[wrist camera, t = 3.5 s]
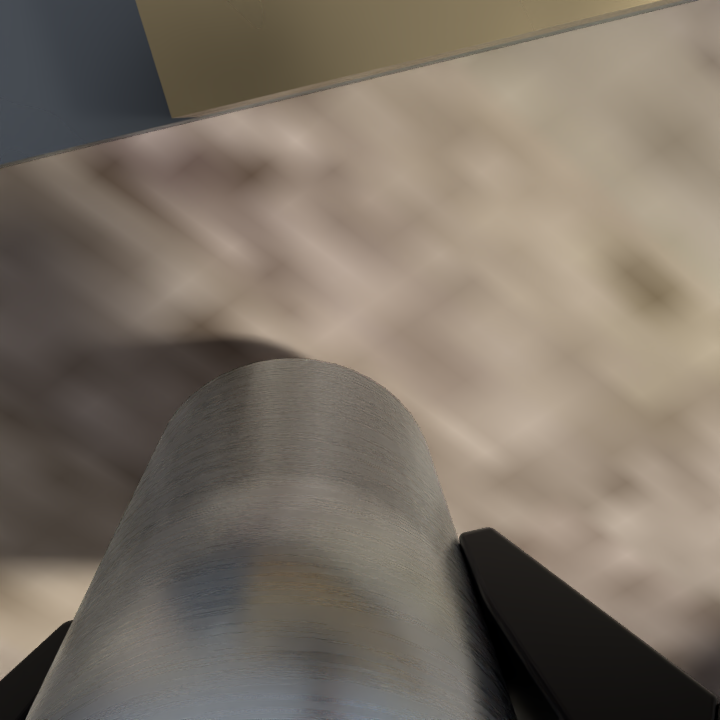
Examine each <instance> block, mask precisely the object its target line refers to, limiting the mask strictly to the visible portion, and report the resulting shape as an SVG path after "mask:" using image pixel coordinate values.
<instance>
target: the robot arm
mask: <svg viewBox="0 0 720 720" xmlns="http://www.w3.org/2000/svg"><path fill="white" fill-rule="evenodd" d="M459 542H460V546H461V549H462V553H463V556H464V559H465V562H466V565H467V568H468V571H469V574H470V577H471V580H472V583H473V586H474V589H475V592H476V595H477V598H478V601H479V604H480V607H481V611H482V614H483V617H484V620H485V622H486V625H487V628H488V631H489V634H490V637H491V640H492V643H493V646H494V649H495V652H496V655H497V658H498V662H499V665H500V668H501V671H502V674H503V677H504V680H505V683H506V686H507V689H508V692H509V695H510V698H511V701H512V704H513V707H514V710H515V713H516V716H517V719H518V720H720V703H719V701H718V698H717V696H716V695H714V694H713V693H712V692H710V691H709V690H708V689H706V688H705V687H704V686H702V685H701V684H700V683H698V682H697V681H696V680H694V679H693V678H692V677H690V676H689V675H688V674H686V673H685V672H684V671H682V670H681V669H680V668H678V667H677V666H676V665H674V664H673V663H672V662H670V661H669V660H668V659H666V658H665V657H664V656H662V655H661V654H660V653H658V652H657V651H656V650H654V649H653V648H652V647H650V646H649V645H648V644H646V643H645V642H644V641H642V640H641V639H640V638H638V637H637V636H636V635H634V634H633V633H632V632H630V631H629V630H628V629H626V628H625V627H624V626H622V625H621V624H620V623H618V622H617V621H616V620H614V619H613V618H612V617H610V616H609V615H608V614H606V613H605V612H604V611H602V610H601V609H600V608H598V607H597V606H596V605H594V604H593V603H592V602H590V601H589V600H588V599H587V598H585V597H584V596H583V595H581V594H580V593H579V592H577V591H576V590H575V589H573V588H572V587H571V586H569V585H568V584H567V583H565V582H564V581H563V580H561V579H560V578H559V577H557V576H556V575H555V574H553V573H552V572H551V571H549V570H548V569H547V568H545V567H544V566H543V565H541V564H540V563H539V562H537V561H536V560H535V559H533V558H532V557H531V556H529V555H528V554H527V553H525V552H524V551H523V550H521V549H520V548H519V547H517V546H516V545H515V544H513V543H512V542H511V541H509V540H508V539H507V538H505V537H504V536H503V535H501V534H500V533H499V532H497V531H496V530H495V529H493V528H490V527H486V528H482V529H477V530H473V531H468V532H464V533H462V534H461V535H460V537H459ZM72 621H73V620H71V621H67V622H65V623H63V624H62V625H61V626H60V627H59V628H58V629H57V630H55V631H54V632H53V633H52V634H51V635H50V636H49V637H48V638H47V639H46V640H45V641H43V642H42V643H41V644H40V645H39V646H38V647H37V648H36V649H35V650H34V651H33V652H31V653H30V654H29V655H28V656H27V657H26V658H25V659H24V660H23V661H22V662H21V663H19V664H18V665H17V666H16V667H15V668H14V669H13V670H12V671H11V672H10V673H8V674H7V675H6V676H5V677H4V678H3V679H2V680H1V681H0V720H25V719H26V717H27V715H28V713H29V711H30V708H31V706H32V704H33V702H34V700H35V698H36V696H37V694H38V692H39V690H40V688H41V686H42V684H43V681H44V679H45V677H46V675H47V673H48V671H49V669H50V667H51V665H52V663H53V661H54V659H55V657H56V654H57V652H58V650H59V648H60V646H61V644H62V642H63V640H64V638H65V636H66V634H67V632H68V630H69V628H70V625H71V623H72Z"/></svg>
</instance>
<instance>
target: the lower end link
mask: <svg viewBox="0 0 720 720" xmlns="http://www.w3.org/2000/svg"><path fill="white" fill-rule="evenodd" d="M693 1H697V0H682V1H678V2H674V3H670V4H666V5H662V6H657V7H653V8H649V9H645V10H641V11H637V12H632V13H628V14H624V15H620V16H616V17H612V18H608V19H603V20H599V21H595V22H591V23H587V24H583V25H578V26H574V27H570V28H566V29H562V30H558V31H553V32H549V33H545V34H541V35H537V36H533V37H529V38H524V39H520V40H516V41H512V42H508V43H504V44H499V45H495V46H491V47H487V48H483V49H479V50H474V51H470V52H466V53H462V54H458V55H454V56H450V57H445V58H441V59H437V60H433V61H429V62H425V63H420V64H416V65H412V66H408V67H404V68H400V69H395V70H391V71H387V72H383V73H379V74H375V75H371V76H366V77H362V78H358V79H354V80H350V81H346V82H341V83H337V84H333V85H329V86H325V87H321V88H316V89H312V90H308V91H304V92H300V93H296V94H292V95H287V96H283V97H279V98H275V99H271V100H267V101H262V102H258V103H254V104H250V105H246V106H242V107H237V108H233V109H229V110H225V111H221V112H217V113H213V114H208V115H204V116H200V117H188V118H172V117H171V114H170V111H169V107H168V104H167V101H166V98H165V94H164V91H163V88H162V85H161V82H160V78H159V75H158V72H157V69H156V65H155V62H154V59H153V56H152V53H151V49H150V46H149V43H148V40H147V36H146V33H145V30H144V27H143V24H142V20H141V17H140V14H139V11H138V7H137V4H136V1H135V0H0V168H3V167H7V166H11V165H15V164H19V163H23V162H28V161H32V160H36V159H40V158H44V157H48V156H53V155H57V154H61V153H65V152H69V151H73V150H77V149H82V148H86V147H90V146H94V145H98V144H102V143H107V142H111V141H115V140H119V139H123V138H127V137H132V136H136V135H140V134H144V133H148V132H152V131H157V130H161V129H165V128H169V127H173V126H177V125H181V124H186V123H190V122H194V121H198V120H202V119H206V118H211V117H215V116H219V115H223V114H227V113H231V112H236V111H240V110H244V109H248V108H252V107H256V106H261V105H265V104H269V103H273V102H277V101H281V100H285V99H290V98H294V97H298V96H302V95H306V94H310V93H315V92H319V91H323V90H327V89H331V88H335V87H340V86H344V85H348V84H352V83H356V82H360V81H365V80H369V79H373V78H377V77H381V76H385V75H389V74H394V73H398V72H402V71H406V70H410V69H414V68H419V67H423V66H427V65H431V64H435V63H439V62H444V61H448V60H452V59H456V58H460V57H464V56H469V55H473V54H477V53H481V52H485V51H489V50H493V49H498V48H502V47H506V46H510V45H514V44H518V43H523V42H527V41H531V40H535V39H539V38H543V37H548V36H552V35H556V34H560V33H564V32H568V31H573V30H577V29H581V28H585V27H589V26H593V25H597V24H602V23H606V22H610V21H614V20H618V19H622V18H627V17H631V16H635V15H639V14H643V13H647V12H652V11H656V10H660V9H664V8H668V7H672V6H677V5H681V4H685V3H689V2H693Z"/></svg>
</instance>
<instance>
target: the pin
mask: <svg viewBox="0 0 720 720" xmlns="http://www.w3.org/2000/svg"><path fill="white" fill-rule="evenodd" d="M25 720H518V719H517V716H516V713H515V710H514V707H513V704H512V701H511V698H510V695H509V692H508V689H507V686H506V683H505V680H504V677H503V674H502V671H501V668H500V665H499V662H498V658H497V655H496V652H495V649H494V646H493V643H492V640H491V637H490V634H489V631H488V628H487V625H486V622H485V620H484V617H483V614H482V611H481V607H480V604H479V601H478V598H477V595H476V592H475V589H474V586H473V583H472V580H471V577H470V574H469V571H468V568H467V565H466V562H465V559H464V556H463V553H462V549H461V546H460V543H459V540H458V537H457V534H456V530H455V527H454V524H453V521H452V518H451V515H450V512H449V509H448V506H447V503H446V500H445V497H444V494H443V491H442V488H441V485H440V482H439V479H438V476H437V473H436V470H435V466H434V463H433V460H432V457H431V454H430V451H429V448H428V445H427V442H426V440H425V438H424V436H423V433H422V431H421V429H420V427H419V425H418V424H417V422H416V421H415V419H414V418H413V416H412V415H411V413H410V412H409V411H408V410H407V408H406V407H405V406H404V405H403V404H402V403H401V402H400V400H399V399H397V398H396V397H395V396H394V395H393V394H392V393H390V392H389V391H388V390H387V389H386V388H384V387H383V386H381V385H380V384H378V383H377V382H375V381H374V380H372V379H371V378H369V377H367V376H365V375H363V374H361V373H359V372H357V371H354V370H352V369H349V368H346V367H343V366H340V365H337V364H334V363H329V362H324V361H319V360H313V359H300V358H288V359H273V360H267V361H261V362H256V363H252V364H249V365H246V366H242V367H239V368H236V369H234V370H232V371H229V372H227V373H225V374H223V375H220V376H219V377H217V378H215V379H214V380H212V381H210V382H209V383H207V384H206V385H204V386H203V387H201V388H200V389H199V390H198V391H196V392H195V393H194V394H193V395H192V396H190V397H189V398H188V399H187V400H186V401H185V403H184V404H183V405H182V406H181V407H180V408H179V409H178V410H177V411H176V413H175V414H174V416H173V417H172V419H171V420H170V422H169V423H168V424H167V426H166V429H165V431H164V433H163V435H162V437H161V439H160V441H159V443H158V445H157V447H156V449H155V451H154V453H153V455H152V457H151V459H150V462H149V464H148V466H147V468H146V470H145V472H144V474H143V476H142V478H141V480H140V482H139V484H138V486H137V488H136V491H135V493H134V495H133V497H132V499H131V501H130V503H129V505H128V507H127V509H126V511H125V513H124V515H123V518H122V520H121V522H120V524H119V526H118V528H117V530H116V532H115V534H114V536H113V538H112V540H111V542H110V545H109V547H108V549H107V551H106V553H105V555H104V557H103V559H102V561H101V563H100V565H99V567H98V569H97V571H96V574H95V576H94V578H93V580H92V582H91V584H90V586H89V588H88V590H87V592H86V594H85V596H84V598H83V601H82V603H81V605H80V607H79V609H78V611H77V613H76V615H75V617H74V619H73V621H72V623H71V625H70V628H69V630H68V632H67V634H66V636H65V638H64V640H63V642H62V644H61V646H60V648H59V650H58V652H57V654H56V657H55V659H54V661H53V663H52V665H51V667H50V669H49V671H48V673H47V675H46V677H45V679H44V681H43V684H42V686H41V688H40V690H39V692H38V694H37V696H36V698H35V700H34V702H33V704H32V706H31V708H30V711H29V713H28V715H27V717H26V719H25Z"/></svg>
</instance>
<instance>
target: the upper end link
mask: <svg viewBox="0 0 720 720" xmlns="http://www.w3.org/2000/svg"><path fill="white" fill-rule="evenodd" d="M135 1H136V4H137V7H138V11H139V14H140V17H141V20H142V24H143V27H144V30H145V33H146V36H147V40H148V43H149V46H150V49H151V53H152V56H153V59H154V62H155V65H156V69H157V72H158V75H159V78H160V82H161V85H162V88H163V91H164V94H165V98H166V101H167V104H168V107H169V111H170V114H171V117H172V118H188V117H200V116H204V115H208V114H213V113H217V112H221V111H225V110H229V109H233V108H237V107H242V106H246V105H250V104H254V103H258V102H262V101H267V100H271V99H275V98H279V97H283V96H287V95H292V94H296V93H300V92H304V91H308V90H312V89H316V88H321V87H325V86H329V85H333V84H337V83H341V82H346V81H350V80H354V79H358V78H362V77H366V76H371V75H375V74H379V73H383V72H387V71H391V70H395V69H400V68H404V67H408V66H412V65H416V64H420V63H425V62H429V61H433V60H437V59H441V58H445V57H450V56H454V55H458V54H462V53H466V52H470V51H474V50H479V49H483V48H487V47H491V46H495V45H499V44H504V43H508V42H512V41H516V40H520V39H524V38H529V37H533V36H537V35H541V34H545V33H549V32H553V31H558V30H562V29H566V28H570V27H574V26H578V25H583V24H587V23H591V22H595V21H599V20H603V19H608V18H612V17H616V16H620V15H624V14H628V13H632V12H637V11H641V10H645V9H649V8H653V7H657V6H662V5H666V4H670V3H674V2H678V1H682V0H135Z"/></svg>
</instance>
